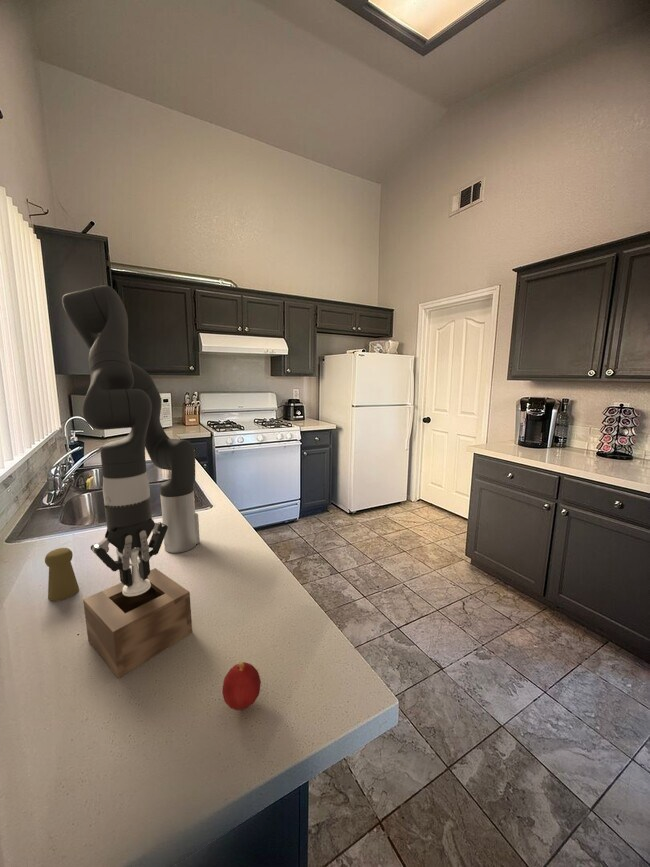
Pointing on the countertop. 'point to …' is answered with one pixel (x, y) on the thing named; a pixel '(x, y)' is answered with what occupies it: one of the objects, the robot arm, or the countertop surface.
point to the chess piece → (136, 577)
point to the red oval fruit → (241, 686)
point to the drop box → (137, 622)
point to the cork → (61, 575)
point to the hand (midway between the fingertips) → (135, 581)
